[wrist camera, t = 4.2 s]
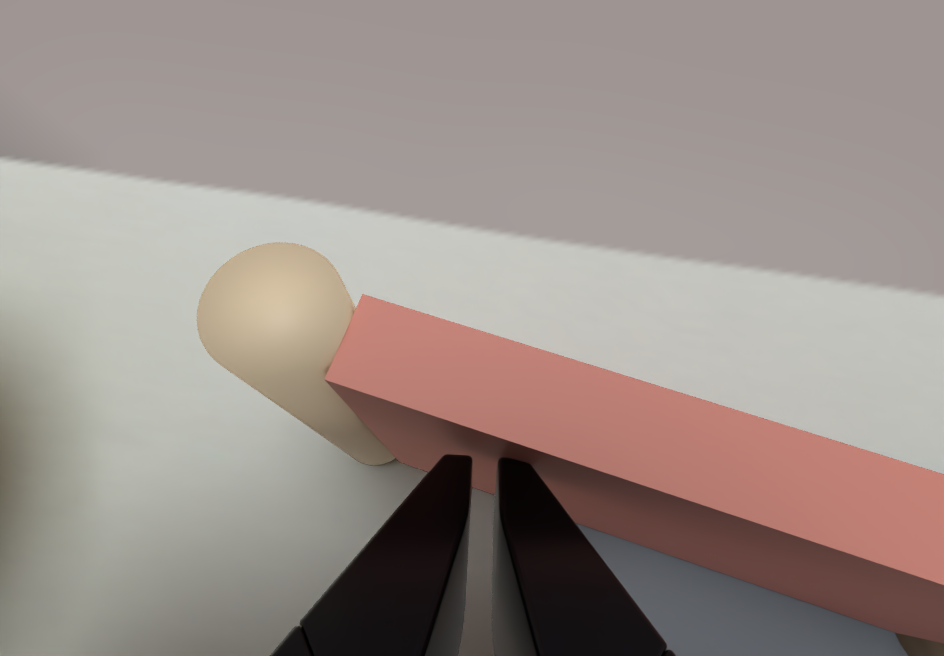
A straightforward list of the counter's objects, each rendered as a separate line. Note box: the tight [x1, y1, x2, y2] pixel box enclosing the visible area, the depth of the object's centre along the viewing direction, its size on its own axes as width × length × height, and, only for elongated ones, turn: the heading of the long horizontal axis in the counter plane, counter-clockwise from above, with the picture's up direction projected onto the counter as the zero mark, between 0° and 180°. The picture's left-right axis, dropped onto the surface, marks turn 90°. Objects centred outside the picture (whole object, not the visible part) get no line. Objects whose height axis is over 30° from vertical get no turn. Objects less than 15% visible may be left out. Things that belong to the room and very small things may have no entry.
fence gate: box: [197, 243, 944, 643], centre depth 10 cm, size 14×2×8 cm, turn 72°
